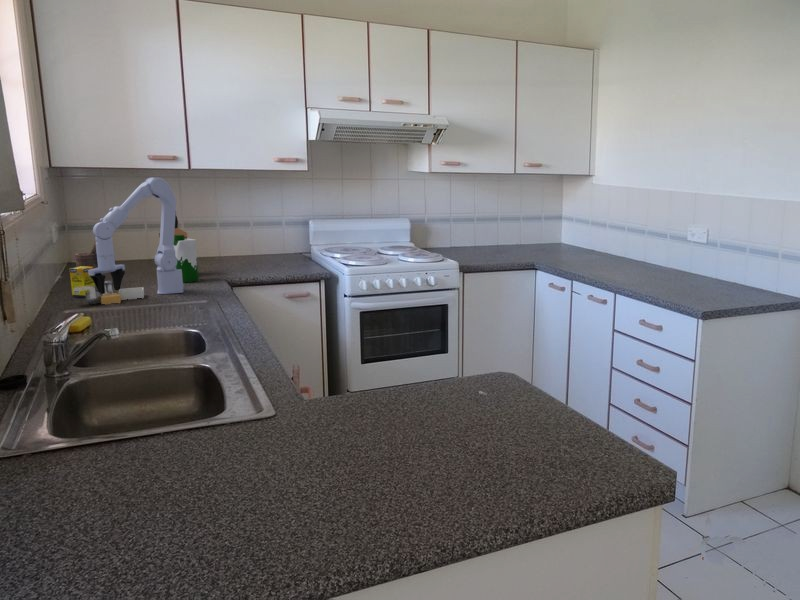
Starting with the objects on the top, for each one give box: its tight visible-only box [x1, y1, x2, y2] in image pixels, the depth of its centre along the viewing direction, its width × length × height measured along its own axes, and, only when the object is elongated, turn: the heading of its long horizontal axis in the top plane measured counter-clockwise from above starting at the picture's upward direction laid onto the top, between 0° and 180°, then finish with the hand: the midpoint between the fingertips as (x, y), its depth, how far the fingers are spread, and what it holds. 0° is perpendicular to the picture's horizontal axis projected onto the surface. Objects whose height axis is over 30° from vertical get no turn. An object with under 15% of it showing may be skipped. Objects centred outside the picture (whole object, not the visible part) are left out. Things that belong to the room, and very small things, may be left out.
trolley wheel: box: [74, 285, 103, 305], centre depth 217 cm, size 8×5×6 cm, turn 111°
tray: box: [117, 286, 145, 301], centre depth 229 cm, size 8×7×3 cm
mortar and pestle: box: [74, 240, 98, 269], centre depth 255 cm, size 12×9×20 cm
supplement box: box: [69, 266, 96, 298], centre depth 232 cm, size 6×6×11 cm
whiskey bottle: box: [158, 214, 189, 239], centre depth 272 cm, size 10×10×32 cm
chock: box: [100, 292, 122, 305], centre depth 221 cm, size 6×5×3 cm
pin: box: [104, 280, 114, 294], centre depth 226 cm, size 3×3×7 cm
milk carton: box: [174, 235, 200, 284], centre depth 261 cm, size 9×9×20 cm
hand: (109, 291), depth 227 cm, fingers open, 6 cm apart
